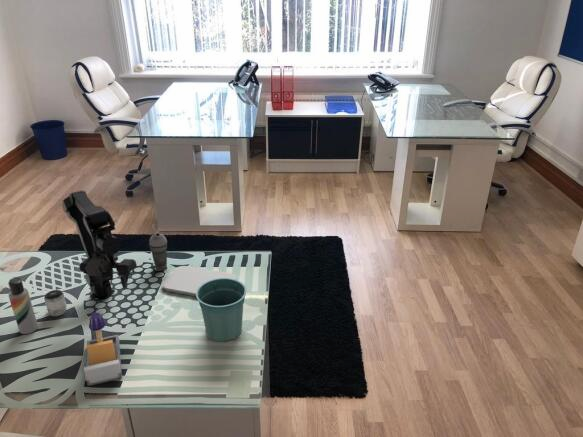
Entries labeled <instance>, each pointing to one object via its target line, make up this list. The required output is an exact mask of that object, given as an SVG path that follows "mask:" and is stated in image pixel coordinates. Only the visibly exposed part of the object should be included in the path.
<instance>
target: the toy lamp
mask: <svg viewBox="0 0 583 437" xmlns="http://www.w3.org/2000/svg"><path fill="white" fill-rule="evenodd" d="M106 325H107V324H106V321H105V319H104V317H103V315H102V314H101V313H100V312H94V313H92V314H91V315H90V318H89V322H88V328H89V329H90V330H91V331H94V332H95V334H96V336H95V337H96V339H97V342H98V343H100V342H103V338H104V337H103V334H102V330H103V329H104V328H105V327H106Z"/></svg>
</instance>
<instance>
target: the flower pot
mask: <svg viewBox="0 0 583 437" xmlns="http://www.w3.org/2000/svg"><path fill="white" fill-rule="evenodd" d="M246 295H247V287H246V285H245V284H244V283H243V282H241V281H240V280H238V279H236V280H235V279H231V278H217V279H212V280H210V281H207V282H205V283H204V284H202V285H201V286H200V287H199V288H198V289H197V292H196V296H195V297H196V299H197V301H198V304H199V307H200V309H201V312H202V320H203V323H204V328H205V333H206V335H207V337H209V339H210V340H212V341H216V342H227V341H229V340H234V339H236V338H237V337H238V336H239V335H240V334H241V332H242V330H243V329H242V328H243V318H244V316H243V314H244V312H243V311H244V304H245V299H246V298H245V297H246Z"/></svg>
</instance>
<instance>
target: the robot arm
mask: <svg viewBox="0 0 583 437" xmlns="http://www.w3.org/2000/svg"><path fill="white" fill-rule="evenodd" d="M61 205H62V206H61V207H62V209H63V212H64V213H65V214H66V216H67V218H68V220H71V222H73V223H74V224H75V227H76V230H77V233H78V235H79V239H80V241H81V244H82V246H83V249H84V252H85V255H86V259H85V260H83V261H82V262H80V263H79V266H78V267H79V271H80V272H81V273H82V272H83V274H85V275H84V279H85V281H86V284H87V285H88V286H89V287H90V288H91V292H92V293H90V295H89V298H92V299H94V300H95V299H96V300H100V301H105V300H107V298H109V297H110V296H111V295H113V294H114V293H115V290H114V289H112V284H111V282H110V281H112V280H114V269H116V272H117V274H116V275H117V276H118V277H119V279H120V283H121V286H122V290H125V289H127V286H128V283H129V282H128V281H129V278H130V274H131V272H132V271H133V270H135V268H137V261H136V260H135V259H134V258H124V259H123V260H122V261H120V262H118V260H119V257H118V256H116V255H115V254H117V253H118V252H119V251H120V250H121V242H120V240H119V239H118V238H117V237H116V236H114V234H112V231H115V230H116V227H115V225H116V223H115V221H114V219H113V217H112V214H111V213H110V212H109V211H108V210H106V208H104V207H102V206H101V205H95V203H94V202H92V200H91V199H90V198H89V197H88V195H87V193H86V191H85V190H79V191H73V192H71V193H68V196H67V197H66V198H64V199H63V200H62V204H61Z"/></svg>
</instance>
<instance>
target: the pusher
mask: <svg viewBox="0 0 583 437" xmlns="http://www.w3.org/2000/svg"><path fill="white" fill-rule="evenodd" d="M87 351H88V355H89V359H90V364H91V366H92V365H96V364H101V363H105V362H109V361H114V360H116V356H115V351H114V346H113V341H112V340H109V341H104V342H100V343H95V344H90V345H87V344H86V352H87Z"/></svg>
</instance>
